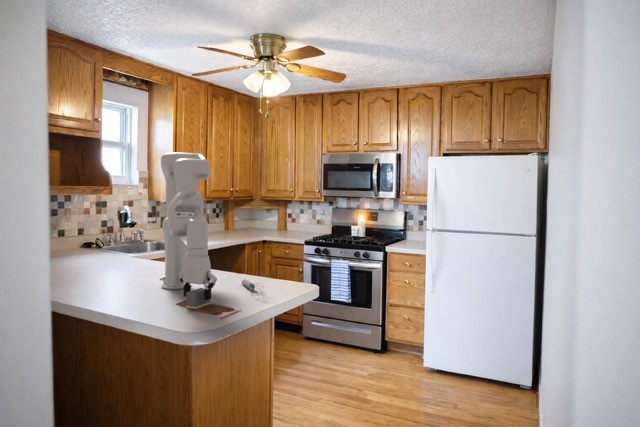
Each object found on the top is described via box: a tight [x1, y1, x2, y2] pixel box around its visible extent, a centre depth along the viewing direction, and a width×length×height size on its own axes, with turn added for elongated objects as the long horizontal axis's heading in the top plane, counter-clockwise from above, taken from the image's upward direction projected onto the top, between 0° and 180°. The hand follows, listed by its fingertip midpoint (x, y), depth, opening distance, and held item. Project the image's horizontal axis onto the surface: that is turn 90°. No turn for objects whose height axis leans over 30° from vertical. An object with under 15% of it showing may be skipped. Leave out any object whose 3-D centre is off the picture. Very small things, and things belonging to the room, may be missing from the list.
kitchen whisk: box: [241, 278, 268, 300], centre depth 191 cm, size 6×34×6 cm, turn 22°
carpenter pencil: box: [219, 309, 242, 320], centre depth 156 cm, size 1×12×1 cm, turn 154°
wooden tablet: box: [175, 299, 236, 316], centre depth 166 cm, size 27×10×2 cm, turn 56°
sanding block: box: [185, 287, 211, 309], centre depth 164 cm, size 4×8×6 cm, turn 155°
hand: (197, 297), depth 164 cm, fingers open, 9 cm apart
